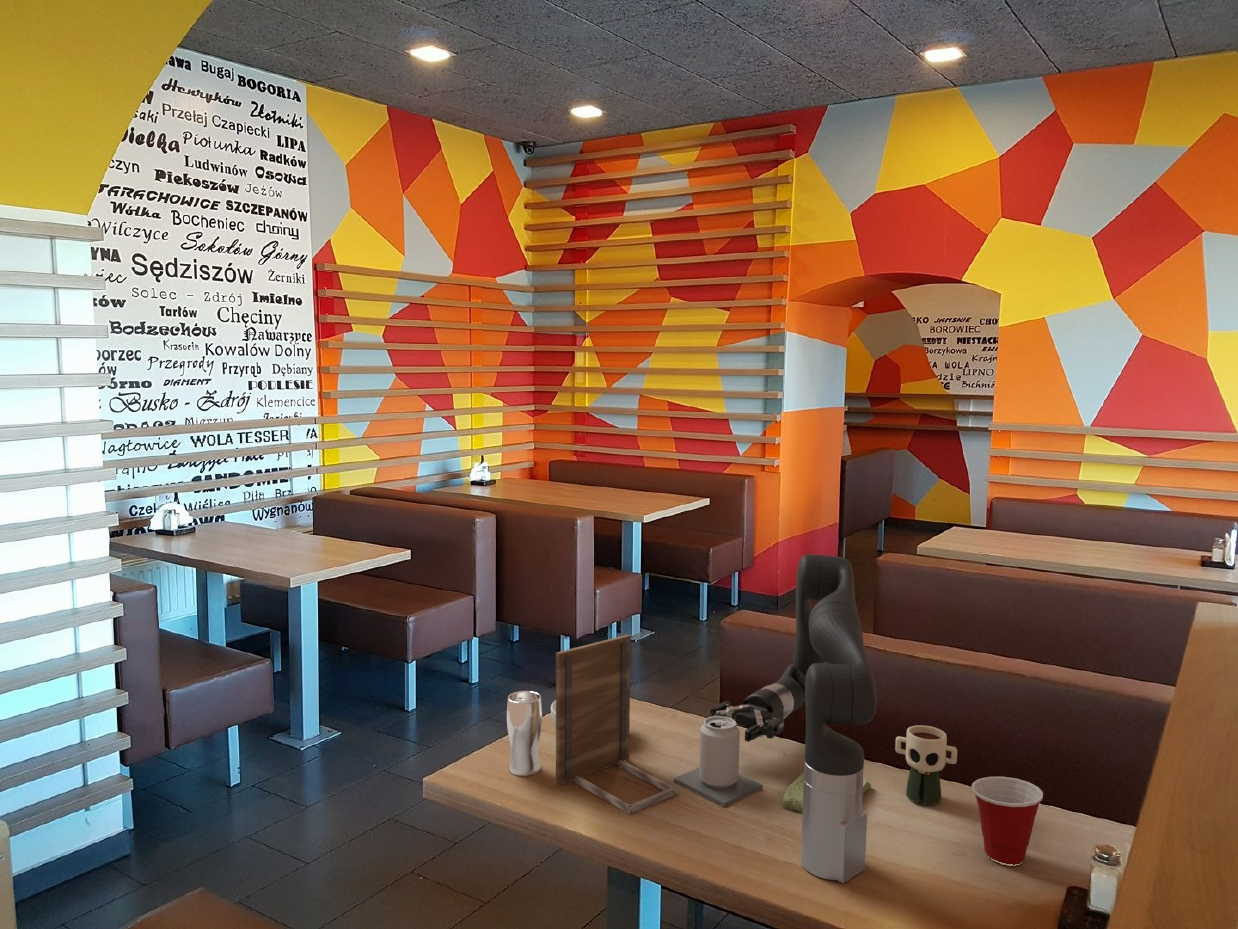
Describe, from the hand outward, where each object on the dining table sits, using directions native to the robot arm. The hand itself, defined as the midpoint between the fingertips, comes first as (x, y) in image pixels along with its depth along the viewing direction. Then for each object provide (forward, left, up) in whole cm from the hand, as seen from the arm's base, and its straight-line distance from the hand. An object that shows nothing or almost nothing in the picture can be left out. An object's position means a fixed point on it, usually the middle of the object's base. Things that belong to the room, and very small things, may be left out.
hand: (727, 730), depth 172 cm
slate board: (-1, +3, -10) cm, 10 cm away
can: (-1, +3, -9) cm, 10 cm away
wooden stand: (+10, +18, -10) cm, 22 cm away
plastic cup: (-48, -14, -10) cm, 51 cm away
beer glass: (+29, +28, -10) cm, 41 cm away
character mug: (-29, -22, -10) cm, 38 cm away
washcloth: (-17, -9, -11) cm, 22 cm away
